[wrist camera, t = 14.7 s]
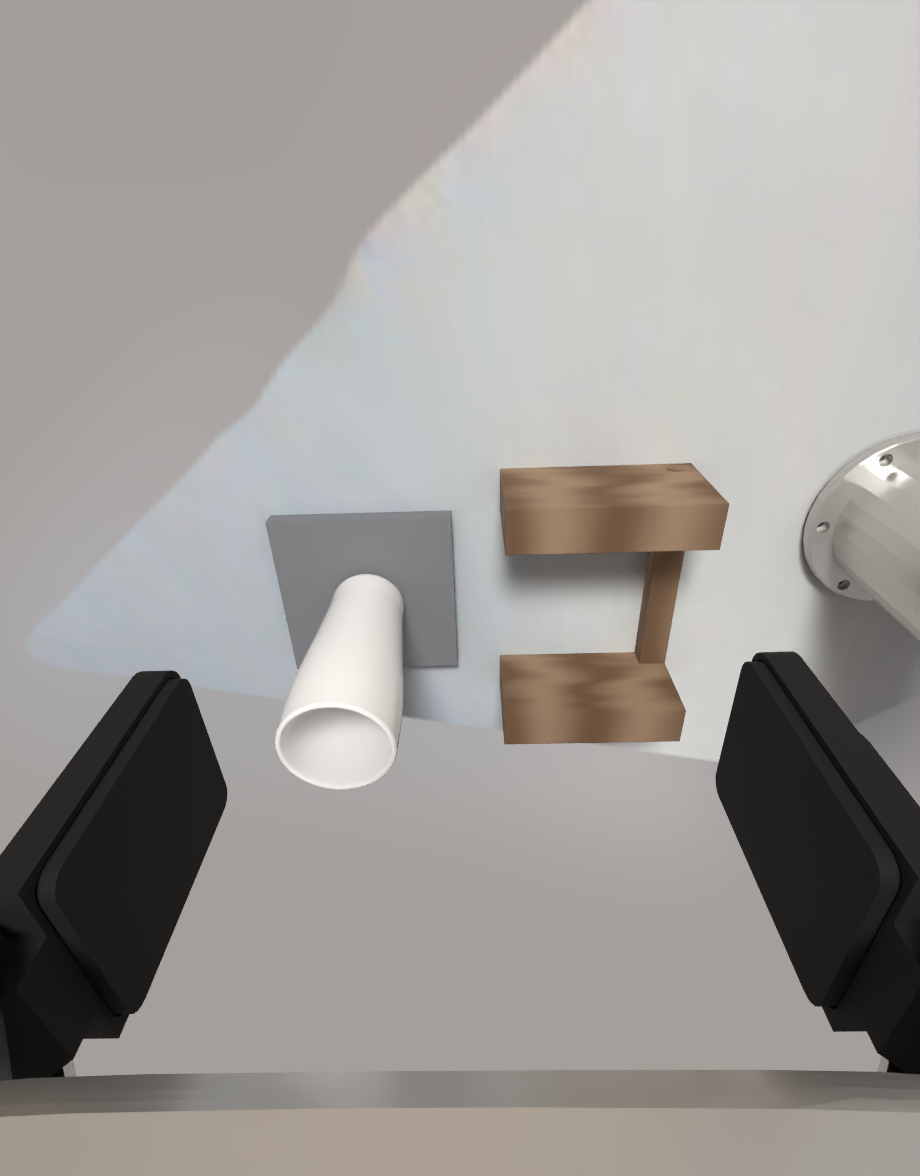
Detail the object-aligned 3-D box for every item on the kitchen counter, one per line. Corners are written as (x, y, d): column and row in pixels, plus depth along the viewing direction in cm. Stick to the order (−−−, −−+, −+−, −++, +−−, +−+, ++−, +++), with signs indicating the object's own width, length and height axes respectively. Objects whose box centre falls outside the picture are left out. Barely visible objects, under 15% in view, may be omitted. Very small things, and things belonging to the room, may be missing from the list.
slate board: (451, 510, 43) (450, 517, 42) (457, 656, 50) (457, 665, 49) (270, 515, 44) (265, 522, 43) (300, 659, 50) (297, 668, 49)
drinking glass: (402, 645, 48) (382, 801, 35) (316, 625, 47) (264, 778, 34) (424, 574, 45) (411, 718, 32) (333, 551, 44) (282, 690, 31)
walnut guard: (691, 463, 41) (729, 504, 35) (654, 680, 51) (679, 741, 45) (500, 468, 42) (505, 510, 36) (499, 683, 51) (504, 744, 45)
